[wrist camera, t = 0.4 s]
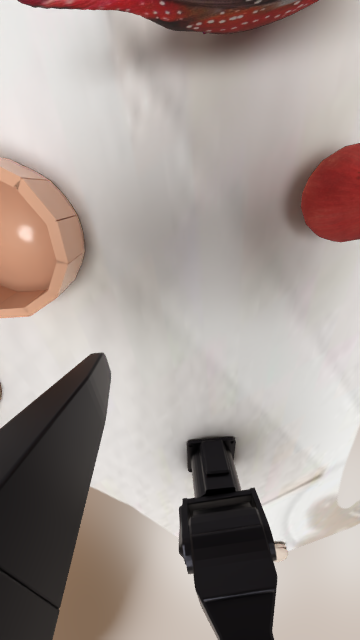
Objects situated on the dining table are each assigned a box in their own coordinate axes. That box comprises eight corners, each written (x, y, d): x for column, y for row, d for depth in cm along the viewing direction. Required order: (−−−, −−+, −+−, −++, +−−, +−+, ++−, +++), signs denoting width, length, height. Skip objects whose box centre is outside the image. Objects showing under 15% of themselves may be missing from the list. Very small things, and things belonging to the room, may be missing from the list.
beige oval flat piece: (272, 550, 52) (276, 566, 50) (257, 544, 50) (261, 561, 48) (288, 542, 51) (293, 558, 48) (273, 536, 49) (279, 553, 47)
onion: (346, 132, 17) (472, 93, 10) (362, 207, 20) (471, 216, 13) (272, 181, 19) (340, 174, 12) (295, 246, 21) (363, 273, 14)
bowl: (95, 291, 22) (81, 313, 18) (-19, 297, 21) (-61, 321, 17) (67, 157, 17) (38, 147, 13) (-82, 163, 17) (-157, 154, 13)
